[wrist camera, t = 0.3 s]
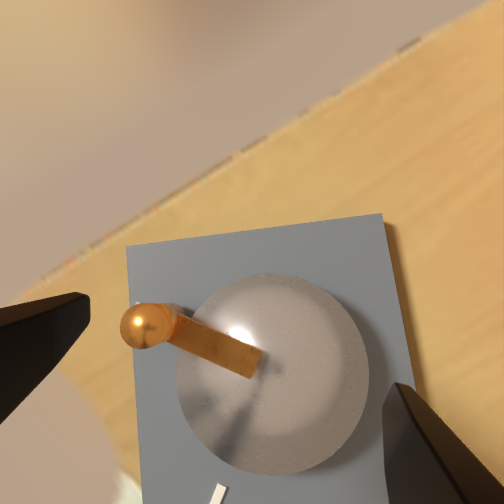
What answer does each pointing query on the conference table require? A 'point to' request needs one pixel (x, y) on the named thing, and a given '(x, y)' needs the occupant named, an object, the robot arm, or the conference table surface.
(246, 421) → the dial
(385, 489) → the dial plate
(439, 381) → the conference table surface
